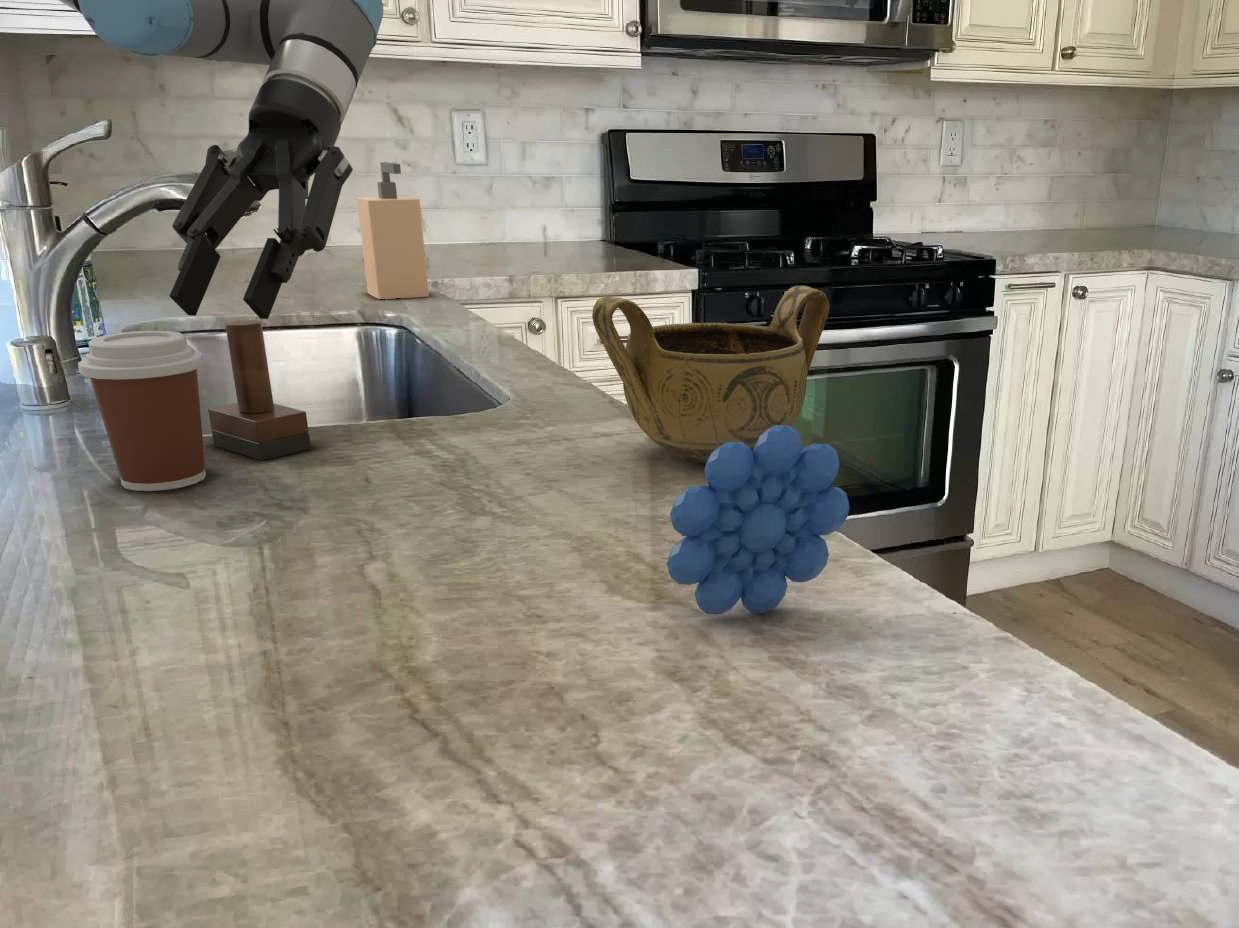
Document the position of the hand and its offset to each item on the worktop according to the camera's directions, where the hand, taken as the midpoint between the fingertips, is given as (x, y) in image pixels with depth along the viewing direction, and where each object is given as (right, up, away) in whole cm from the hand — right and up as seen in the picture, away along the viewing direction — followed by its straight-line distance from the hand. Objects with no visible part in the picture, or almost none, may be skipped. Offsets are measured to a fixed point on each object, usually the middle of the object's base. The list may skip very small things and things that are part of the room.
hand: (218, 307), depth 97 cm
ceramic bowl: (+42, -12, +8) cm, 45 cm away
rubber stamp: (0, -11, +8) cm, 14 cm away
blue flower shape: (+46, -25, -25) cm, 58 cm away
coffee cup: (-4, -15, -1) cm, 16 cm away
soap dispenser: (-15, +24, +99) cm, 103 cm away
